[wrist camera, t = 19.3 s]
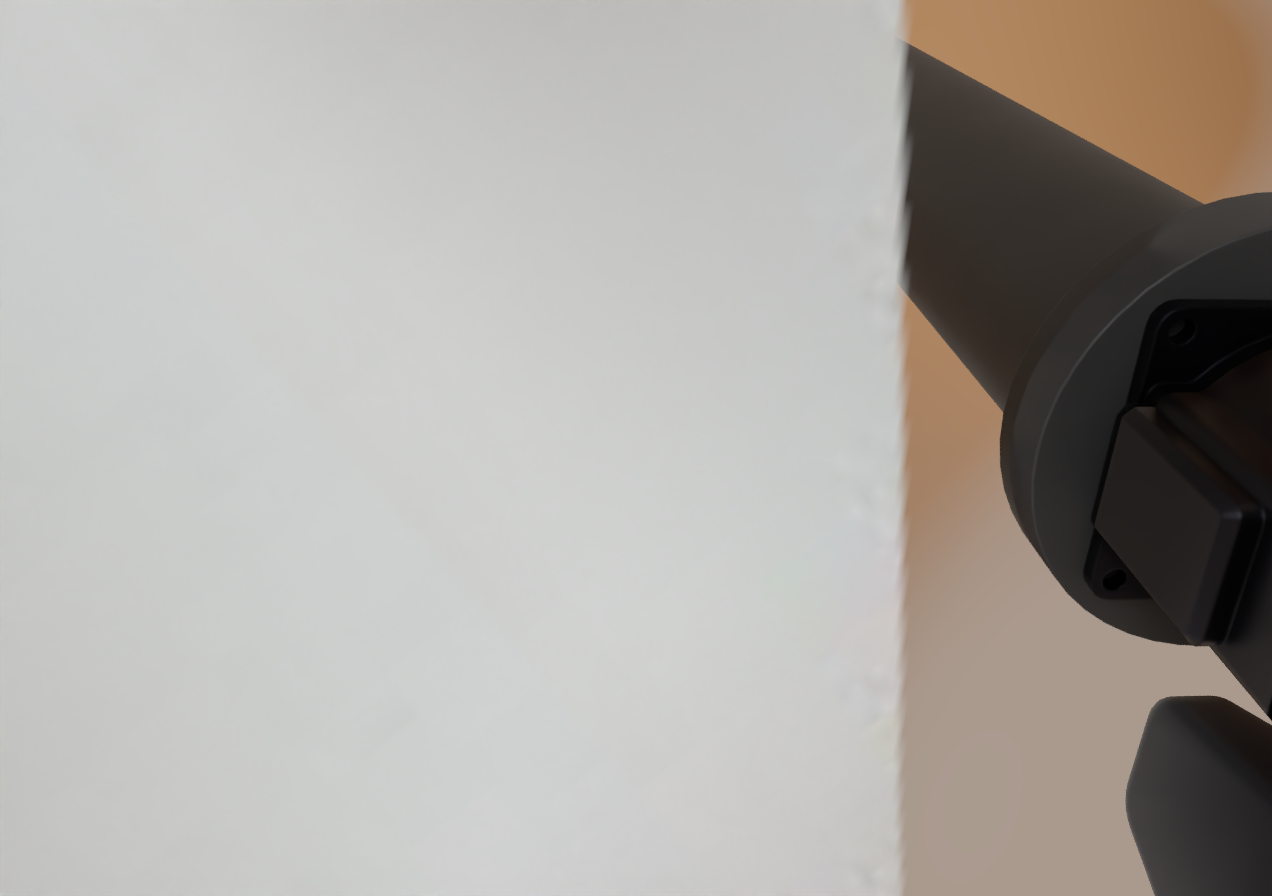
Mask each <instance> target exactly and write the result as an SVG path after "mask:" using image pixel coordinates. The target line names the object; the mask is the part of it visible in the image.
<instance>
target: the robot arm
mask: <svg viewBox="0 0 1272 896" xmlns="http://www.w3.org/2000/svg"><path fill="white" fill-rule="evenodd" d="M1182 319H1185V325H1184V326H1183V328H1182V330H1181V331H1180V332H1179V333H1177V334H1176V335H1173V336H1169V330H1170V328H1171V326H1172V325H1173V324H1174V323H1176V322H1177V321H1178V320H1182ZM1091 523H1092V524H1093V526H1094V530H1093V534H1092V538H1091V541H1090V545H1089V549H1088V553H1087V557H1086V561H1085V565H1084V569H1083V578H1084V580H1085V582H1086V584H1087V585H1088V586H1089V588H1090V589H1091V590H1092V592H1093V593H1094V594H1095V595H1096V596H1098V597H1099V598H1101V599H1106V600H1146V599H1154V600H1155V602H1156V603H1157V604H1158V605H1159V606H1160V608H1161V609H1162V610H1163V611H1164V613H1165V614H1166V615H1167V616H1168V617H1169V619H1170V620H1171V621H1172V622H1173V624H1174V625H1175V626H1176V627H1177V628H1178V630H1179V631H1180V632H1181V633H1182V635H1183V636H1184V637H1185V638H1186V639H1187V640H1188V641H1189V642H1190V643H1191V644H1192V645H1194V646H1210V648H1211V649H1212V650H1213V651H1214V652H1215V654H1216V655H1217V656H1218V657H1219V658H1220V660H1221V661H1222V662H1223V663H1224V664H1225V666H1226V667H1227V668H1228V669H1229V670H1230V671H1231V673H1232V674H1233V675H1234V676H1235V678H1236V679H1237V680H1238V681H1239V682H1240V684H1242V686H1243V687H1244V688H1245V689H1246V691H1247V692H1248V693H1249V694H1250V695H1251V696H1252V698H1253V699H1254V700H1255V701H1256V703H1257V704H1258V705H1259V706H1260V707H1261V709H1262V710H1263V711H1264V712H1265V713H1266V715H1267V716H1268V717H1269V718H1270V719H1271V720H1272V300H1258V299H1174V300H1168V301H1166V302H1165V303H1163V304H1161V305H1159V306H1158V307H1157V308H1156V309H1155V310H1154V311H1153V312H1152V313H1151V314H1150V316H1149V319H1148V321H1147V323H1146V326H1145V330H1144V334H1143V338H1142V342H1141V346H1140V350H1139V354H1138V358H1137V361H1136V365H1135V369H1134V373H1133V377H1132V381H1131V385H1130V389H1129V393H1128V397H1127V401H1126V405H1125V406H1124V407H1123V408H1122V409H1121V411H1120V412H1119V413H1118V414H1117V416H1116V419H1115V423H1114V427H1113V431H1112V435H1111V439H1110V443H1109V447H1108V451H1107V455H1106V459H1105V463H1104V467H1103V471H1102V475H1101V479H1100V482H1099V486H1098V490H1097V494H1096V498H1095V502H1094V506H1093V510H1092V514H1091ZM1117 569H1118V570H1117ZM1113 570H1117V572H1116V574H1115V575H1114V576H1112V577H1111V578H1108V579H1104V577H1105V575H1106V574H1107V573H1109V572H1110V571H1113ZM1103 579H1104V580H1103ZM1126 812H1127V817H1128V821H1129V825H1130V828H1131V831H1132V834H1133V836H1134V839H1135V842H1136V845H1137V847H1138V850H1139V853H1140V856H1141V859H1142V861H1143V864H1144V867H1145V870H1146V872H1147V875H1148V878H1149V881H1150V883H1151V886H1152V889H1153V891H1154V894H1155V896H1272V725H1270V724H1268V723H1267V722H1265V721H1263V720H1261V719H1260V718H1258V717H1256V716H1255V715H1253V714H1251V713H1250V712H1248V711H1246V710H1244V709H1243V708H1241V707H1239V706H1238V705H1236V704H1234V703H1232V702H1231V701H1228V700H1227V699H1224V698H1221V697H1217V696H1177V697H1167V698H1164V699H1161V700H1159V701H1158V702H1157V703H1156V704H1155V705H1154V706H1153V708H1152V709H1151V711H1150V714H1149V716H1148V719H1147V722H1146V726H1145V729H1144V732H1143V735H1142V738H1141V742H1140V745H1139V749H1138V752H1137V755H1136V758H1135V762H1134V765H1133V768H1132V771H1131V774H1130V778H1129V781H1128V784H1127V790H1126Z"/></svg>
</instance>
